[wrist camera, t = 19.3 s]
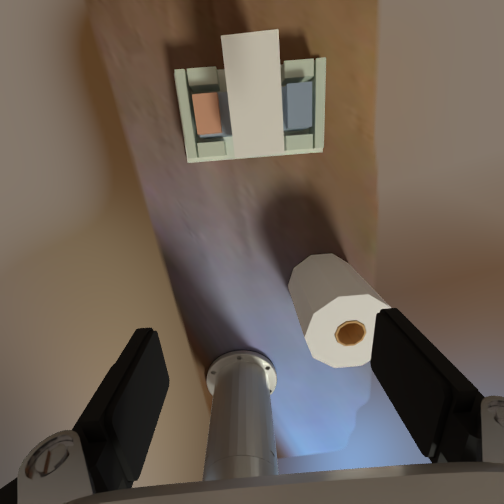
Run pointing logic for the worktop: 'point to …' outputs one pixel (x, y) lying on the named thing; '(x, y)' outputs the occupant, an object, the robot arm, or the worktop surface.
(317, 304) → the toilet paper
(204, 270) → the worktop surface
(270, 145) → the block
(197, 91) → the jig
